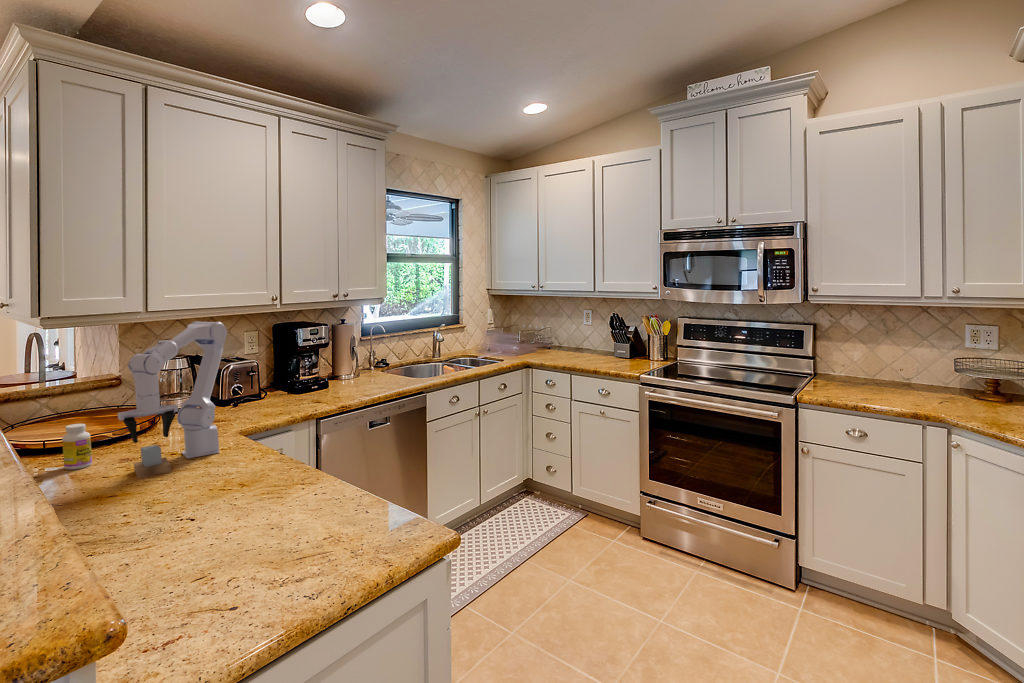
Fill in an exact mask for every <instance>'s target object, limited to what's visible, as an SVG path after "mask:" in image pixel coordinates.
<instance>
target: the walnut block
mask: <svg viewBox="0 0 1024 683" xmlns="http://www.w3.org/2000/svg"><path fill="white" fill-rule="evenodd" d="M161 458H162V464H158V465H154V466H149V467H145V466H144V465H142V461H138V462H134V463H133V467H134V473H135V475H136V477H137V479H139V480H141V479H144V478H150V477H153V476H154V477H155V476H160V475H165V474H169V473H172V464H171V463H170V461H169V460H168V459H167V457H166V456H165V457H161Z"/></svg>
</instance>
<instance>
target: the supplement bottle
mask: <svg viewBox="0 0 1024 683" xmlns="http://www.w3.org/2000/svg"><path fill="white" fill-rule="evenodd" d="M86 426H87V425H86V424H85V423H74V424H69V425H66V426H65V432H66V434H64V435H63V436H62V438H61V440H62V443H61V444H62V455H63V465H64V467H63V468H65V470H71V471H72V470H80V469H84V468H87V467H90V466H91V465H92V464H93V455H92V454H93V453H92V441H91V440H92V439H91V438H92V437H91V433H89V432H88V431H86V429H87V428H86Z"/></svg>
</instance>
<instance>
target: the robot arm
mask: <svg viewBox="0 0 1024 683" xmlns="http://www.w3.org/2000/svg"><path fill="white" fill-rule="evenodd" d="M227 335H228V330H227V327H225V325H224V323H223V322H221V321H199V320H198V321H192V322H191V323H190V324H187V327H186V328H185V329H184V330H182V331H181V332H179V333H178V334H177V335H176V336H175V337H173V338H171V339H170V340H168V339H167V340H166V339H164V340H158V341H157V344H155V345H153V346H151V347H150V348H147V349H145V351H144V352H143V353H136V354H134V355H133V356H131V358H130V360H129V361H128V364H127V368H128V370H129V371H130V372H131V374H132V378H133V379H134V390H135V404H136V405H135V406H136V409H132V410H131V409H130V410H126V411H121V412H117V419H118V420H119V421H122V422H123V424H125V426H126V428H127V429H128V431H129V434H130V436H131V439H132V442H133V443H134V444H137V443H138V441H139V439H138V433H137V424H138V422H137V420H136V418H142V417H147V416H155V415H161V422H162V436H163V437H164V438H169V432H170V428H171V425H172V423H173V421H174V419H175V416H176V421H177V423H178V424H179V425H180V426H181V428H182V429H183V439H184V450H183V451H181V453H182V455H183V456H184V457H185V458H186V459H193V458H197V457H202V456H203V457H204V456H208V455H214V454H219V453H220V446H219V445H220V444H219V431H218V427H217V425H216V424H213V423H214V421H215V418H216V416H215V414H216V413H215V410H216V405H215V404H214V402H212V401H211V396H212V394H213V390H214V386H215V381H216V380H217V379H216V378H217V374H218V371H219V367H220V364H221V360H222V357H223V352H224V346H225V342H226V338H227ZM192 342H195V343H196V345H198V346H199V347H200V348H202V350H203V355H202V358H201V361H200V364H199V368H198V372H197V375H196V379H195V382H194V386H193V390H192V392H191V396H190V397H189V398H188V399H186V400H185V401H183V402H182V406H181V408H179V405H177V404H168V405H167V404H165V405H161V400H160V399H161V398H160V385H159V384H160V383H159V373H160V372H161V370H162V369H163V366H164V365H165V364H166V363H167V362H169V361H171V360H172V359H173V358H175V357H176V356H177V355H178V354H179V350H180V349H181V348H184V347H185V346H187V345H189V344H190V343H192ZM176 412H177V414H176Z"/></svg>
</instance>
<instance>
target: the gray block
mask: <svg viewBox="0 0 1024 683" xmlns="http://www.w3.org/2000/svg"><path fill="white" fill-rule="evenodd" d="M140 457H141V462H142V465H144V466H145V467H149V466H154V465H158V464H162V458H163V457H162V448H161V446H159V445H158V444H153V445H152V444H151V445H149V446H148V445H147V446H142V447H140Z"/></svg>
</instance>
